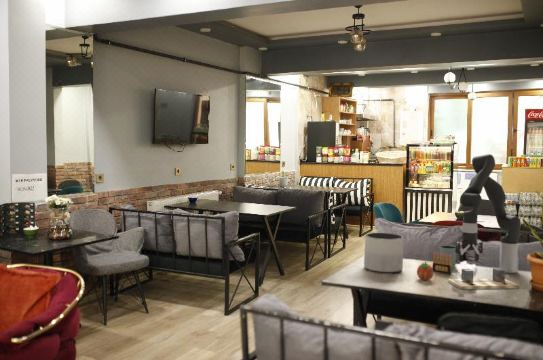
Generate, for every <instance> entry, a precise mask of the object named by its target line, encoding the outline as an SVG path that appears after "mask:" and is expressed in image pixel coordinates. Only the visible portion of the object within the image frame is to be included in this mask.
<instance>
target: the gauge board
mask: <svg viewBox="0 0 543 360" xmlns="http://www.w3.org/2000/svg"><path fill="white" fill-rule="evenodd" d="M447 283H450V285H453V286H455V287H456V288H458V289H460V290H487V289H488V290H490V289H491V290H493V289H494V290H495V289H519V288H520V284H517V283H515V282H513V281H510V280H508V279H506V273H505V270H503V269H501V268H499V267H497V268H496V267H494V268H492V277H491V278H473V283H470V282H465V281H463V280H461V278H448V280H447Z"/></svg>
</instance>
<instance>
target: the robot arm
mask: <svg viewBox="0 0 543 360" xmlns="http://www.w3.org/2000/svg"><path fill="white" fill-rule="evenodd" d="M471 164H472V167H473V170H474V172H475V173H476V174H475V176H473V177H472V178H471V180H470V181H469V184H468V186H467V188H466V189H465V190H464V191H463V192H462V193H461V195H460V198H459V203H460V205H461V206H462V207H469V208H472V209H471V210H467V211H466V210H465V211H464V212H463V214H462V215H463V216H462V226H461V242H459V241H456V242H455V247H456V249H455V253H456V255H458V261H459V262H460V263H463V261H464V254H465V253H466V252H467V251H473V252H474V261H475V262H479V260H480V254H483V253H484V248H483V247H484V244H483V243H484V242H482V241H479V240H478V229H479V228H478V217H479V216H478V215H479V211H480V207H481V205H482V203H483V202H482V199H483V198H482V196H481V194H482V192H483V190H484V191H485V194H486V196H487V198H488V200H489V202H490V204H491V208H492V209H493V213H494V215H495V219H496V222H497V225H498V227H499V229H501V230H503V231H507V234H506V235H504V236H500V244H499V263H498V264H499V265H498V268H501V269H503V270H505V274H516V273H518V272H519V256H518V248H519V247H518V245H519V238H520V233H521V226H522V225H521V219H520V217H518V216H516V215H510V214H508V213H507V211H506V209H505V204H506V200H507V196H506V195H507V194H506V193H505V190H504V188H503V187H502V185H501V184H500V183H499V182H498V181H497V180H494V179H493V178H492V177H491V176H490V175H491V174H492V172H493V171H494V169H495V167H496V160H495V157H494V156H493V154H490V153H488V154H482V155H477V156H474V157H473V158H472V159H471ZM483 188H484V189H483Z"/></svg>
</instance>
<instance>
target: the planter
mask: <svg viewBox="0 0 543 360" xmlns="http://www.w3.org/2000/svg"><path fill="white" fill-rule="evenodd" d="M364 238H365V239H364V240H365V241H364V255H363V256H364V260H363V267H364V268H365V269H366V270H367V271H369V272H373V273H377V274H378V273H379V274H396V273H399V272H401V271H402V270H403V266H404V265H403V263H404V262H403V261H404V258H403V257H404V236H402V235H401V234H398V233H397V234H396V233H390V232H369V233H366V234H365V236H364Z"/></svg>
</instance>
